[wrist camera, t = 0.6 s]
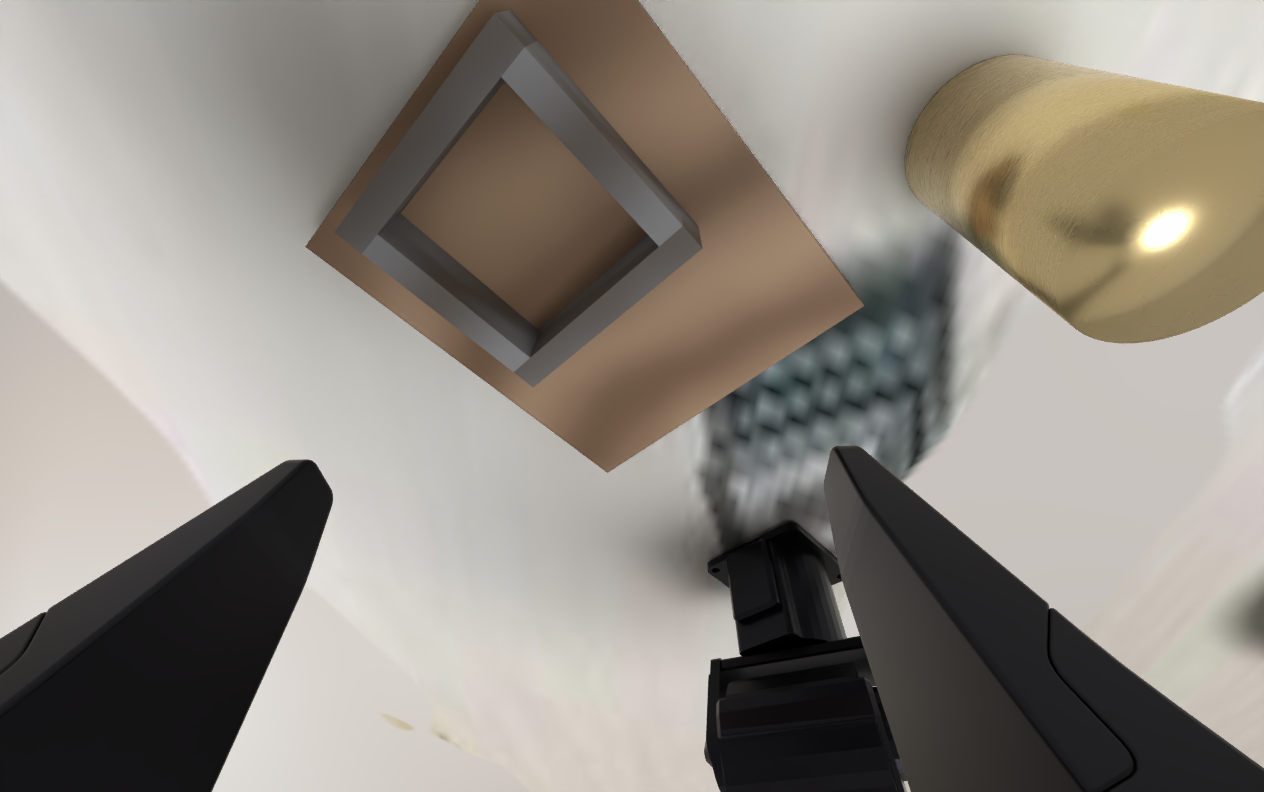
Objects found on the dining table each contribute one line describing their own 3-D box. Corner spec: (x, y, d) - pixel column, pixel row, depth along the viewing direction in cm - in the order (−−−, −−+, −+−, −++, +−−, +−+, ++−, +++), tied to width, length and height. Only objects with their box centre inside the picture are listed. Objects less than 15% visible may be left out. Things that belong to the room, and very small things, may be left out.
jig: (852, 287, 22) (881, 332, 19) (609, 451, 28) (604, 503, 25) (563, -100, 15) (542, -120, 12) (325, 231, 21) (275, 269, 18)
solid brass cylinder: (1085, 145, 18) (1361, 249, 11) (942, 240, 20) (1095, 378, 13) (1033, 14, 16) (1334, 39, 9) (879, 136, 18) (1022, 234, 11)
